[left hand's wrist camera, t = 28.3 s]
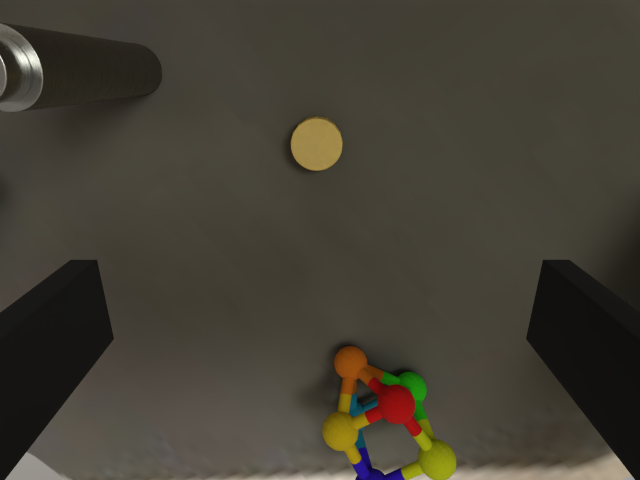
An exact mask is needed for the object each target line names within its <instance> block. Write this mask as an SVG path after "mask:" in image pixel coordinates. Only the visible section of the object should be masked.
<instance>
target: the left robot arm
mask: <svg viewBox="0 0 640 480" xmlns="http://www.w3.org/2000/svg"><path fill="white" fill-rule="evenodd" d="M113 339H114V337H113V333H112V328H111V323H110V319H109V314H108V309H107V305H106V300H105V295H104V291H103V286H102V281H101V277H100V272H99V268H98V263H97V260H70V261H69V262H67V263H66V264H65V265H63V266H62V267H61V268H59V269H58V270H57V271H55V272H54V273H53V274H51V275H50V276H49V277H47V278H46V279H45V280H43V281H42V282H41V283H39V284H38V285H37V286H35V287H34V288H33V289H31V290H30V291H29V292H27V293H26V294H25V295H23V296H22V297H21V298H19V299H18V300H17V301H15V302H14V303H13V304H11V305H10V306H9V307H7V308H6V309H5V310H3V311H2V312H1V313H0V480H5V479H6V477H7V476H8V475H9V474H10V472H11V471H12V470H13V468H14V467H15V466H16V465H17V463H18V462H19V461H20V459H21V458H22V457H23V455H24V454H25V453H26V452H27V450H28V449H29V448H30V446H31V445H32V444H33V443H34V441H35V440H36V439H37V437H38V436H39V435H40V434H41V432H42V431H43V430H44V428H45V427H46V426H47V425H48V423H49V422H50V421H51V419H52V418H53V417H54V415H55V414H56V413H57V412H58V410H59V409H60V408H61V406H62V405H63V404H64V403H65V401H66V400H67V399H68V397H69V396H70V395H71V394H72V392H73V391H74V390H75V388H76V387H77V386H78V384H79V383H80V382H81V381H82V379H83V378H84V377H85V375H86V374H87V373H88V372H89V370H90V369H91V368H92V366H93V365H94V364H95V363H96V361H97V360H98V359H99V357H100V356H101V355H102V353H103V352H104V351H105V350H106V348H107V347H108V346H109V344H110V343H111V342H112V341H113ZM526 339H527V341H528V342H529V343H530V344H531V346H532V347H533V348H534V350H535V351H536V352H537V353H538V355H539V356H540V357H541V359H542V360H543V361H544V363H545V364H546V365H547V366H548V368H549V369H550V370H551V372H552V373H553V374H554V375H555V377H556V378H557V379H558V381H559V382H560V383H561V384H562V386H563V387H564V388H565V390H566V391H567V392H568V394H569V395H570V396H571V397H572V399H573V400H574V401H575V403H576V404H577V405H578V406H579V408H580V409H581V410H582V412H583V413H584V414H585V415H586V417H587V418H588V419H589V421H590V422H591V423H592V425H593V426H594V427H595V428H596V430H597V431H598V432H599V434H600V435H601V436H602V437H603V439H604V440H605V441H606V443H607V444H608V445H609V446H610V448H611V449H612V450H613V452H614V453H615V454H616V455H617V457H618V458H619V459H620V461H621V462H622V463H623V465H624V466H625V467H626V468H627V470H628V471H629V472H630V474H631V475H632V476H633V477H634V479H635V480H640V313H639V312H638V311H637V310H635V309H634V308H633V307H631V306H630V305H629V304H627V303H626V302H625V301H623V300H622V299H621V298H619V297H618V296H617V295H615V294H614V293H613V292H611V291H610V290H609V289H607V288H606V287H605V286H603V285H602V284H601V283H599V282H598V281H597V280H595V279H594V278H593V277H591V276H590V275H589V274H587V273H586V272H585V271H583V270H582V269H581V268H579V267H578V266H577V265H575V264H574V263H573V262H571V261H570V260H543V263H542V268H541V272H540V277H539V281H538V286H537V291H536V295H535V300H534V305H533V309H532V314H531V319H530V323H529V328H528V333H527V337H526Z"/></svg>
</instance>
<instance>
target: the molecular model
mask: <svg viewBox="0 0 640 480" xmlns="http://www.w3.org/2000/svg"><path fill="white" fill-rule="evenodd" d="M334 366H335V369H336V372H337V374H339V375H340V376H341V377H342V378H343V380H342V386H341V392H340V398H339V405H338V411H337V412H334V413H332V414H331V415H329V416H328V417H327V418H326V420H325V422H324V424H323V429H322V433H323V437H324V440H325V442H326V444H327V445H328V446H330V447H331V448H332V449H334V450H337V451H345V453H346V454H347V456H348V458H349V460H350V462H351V464H352V465H353V467H354V469H355V471H356V473H357V474H358V475H357V477H356V479H355V480H409V479H411V478H413V477H416V476H418V475H420V474H423V473H425V474H426V475H427V476H428V477H429V478H431V479H433V480H446V479H448V478H449V477H451V476H452V474H453V473H454V471H455V469H456V456H455V454H454V452H453V450H452V448H451V447H450V445H448V444H447V443H446V442H443V441H441V440H439V439H435V436H434V434H433V431H432V429H431V426H430V423H429V421H428V418H427V416H426V413H425V411H424V408H423V406H422V403H421V402H422V401H423V400H424V398H425V396H426V393H427V387H426V384H425V382H424V380H423V378H422V377H421V376H419V375H418V374H416V373H414V372H405V373H402V374H401V375H399V376H398V377H396V376H394V375H391V374H389V373H387V372H384V371H382V370H380V369H377V368H375V367H373V366H370V365H368V364H367V358H366V356H365V354H364V352H363V351H362V350H360V349H359V348H357V347H355V346H346V347H344V348H342V349H340V350H339V351H338V353H337V354H336V356H335V359H334ZM357 379H361V380H362V381H363V382H364V383H365V384H366V385H367V386H368V387H369V388H370V389H371V390H373V391H374V392H375V393H376V394H377V395H378V396H379V397H378V398H377V399H375V400H373V401H371V402H369V403H367V404H365V405H362V404H361V403H359V402H357ZM381 382H382V383H381ZM383 383H384V384H386V385H388V386H387V387H386V386H385V385H384V384H383ZM413 414H414V416H415V418H414V417H413ZM383 417H384V418H385V419H386V420H387V421H388V422H390V423H393V424H404V425H405V427H406V428H407V429H408V431H409V432H410V434H411V435H412V436H413V438H414V439H415V440H416V442H417V443H418V444H419V446H420V447H421V448H420V450H419V453H418V461H415V462H413V463H411V464H409V465H406V466H404V467H402V468H400V469H397V470H395V471H393V472H391V473H388V474H386V475H384V474H383V473H382V472H381V471H379V470H377V469H374V468H372V466H371V462H370V459H369V455H368V452H367V448H366V445H365V442H364V438H363V435H362V430H363V429H364V428H365V426H367V425H369V424H371V423H373V422H375V421H377V420H379V419H381V418H383ZM415 419H416V420H415Z"/></svg>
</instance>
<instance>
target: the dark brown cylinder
mask: <svg viewBox="0 0 640 480" xmlns="http://www.w3.org/2000/svg"><path fill="white" fill-rule="evenodd" d="M161 78H162V70H161V65H160V62H159V60H158V58H157V57H156V55H155V54H154V53H153V52H152V51H151V50H150V49H148V48H147V47H145V46H142V45H139V44H134V43H127V42H121V41H114V40H108V39H102V38H95V37H89V36H83V35H76V34H70V33H63V32H57V31H51V30H44V29H38V28H31V27H25V26H19V25H12V24H6V23H0V111H4V112H20V111H27V110H35V109H43V108H51V107H58V106H66V105H74V104H82V103H89V102H97V101H105V100H113V99H120V98H128V97H136V96H144V95H148V94H150V93H152V92H154V91H155V90H156V89H157V88H158V86H159V84H160V82H161Z"/></svg>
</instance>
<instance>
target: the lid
mask: <svg viewBox="0 0 640 480" xmlns="http://www.w3.org/2000/svg"><path fill="white" fill-rule="evenodd" d="M342 142H343V140H342V138H341V135H340V130H338V128H337V126H336V125H335V124H334V122H332V121H330V120H329V119H327V118H326V117H325V118H324V117H320V116H317V115H316V116H313V117H309V118H308V117H307V118H306V119H305V120H303V121H302V122H301V123H300V122H299V124H298V126H297V127H296V129H295V130H294V131H293V135H292V139H291V142H290V143H291V150H292V154H293V156H294V158H295V159H296V161H297V162H298V163H299V164H300V165H301V166H303V167H304V168H306V169H309V170H314V171H320V170H324V169H327V168H329V167H331V166H332V165H333V164H334V163H335V162H336V161H337V160H338V158H339V157H340V154H341V152H342Z"/></svg>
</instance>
